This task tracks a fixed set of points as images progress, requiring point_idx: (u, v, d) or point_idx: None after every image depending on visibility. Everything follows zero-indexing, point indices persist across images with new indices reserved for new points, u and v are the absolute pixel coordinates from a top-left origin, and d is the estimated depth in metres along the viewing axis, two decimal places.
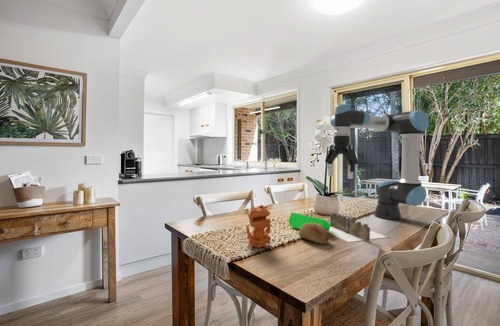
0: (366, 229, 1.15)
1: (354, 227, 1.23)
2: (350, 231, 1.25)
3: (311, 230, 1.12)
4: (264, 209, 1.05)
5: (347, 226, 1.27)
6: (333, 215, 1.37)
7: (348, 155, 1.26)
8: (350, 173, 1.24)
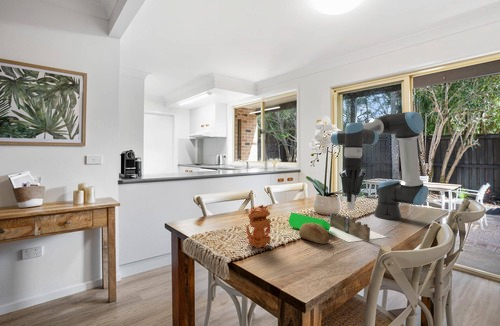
0: (366, 229, 1.15)
1: (354, 227, 1.23)
2: (350, 231, 1.25)
3: (311, 231, 1.12)
4: (264, 209, 1.05)
5: (347, 226, 1.27)
6: (333, 215, 1.37)
7: None
8: None
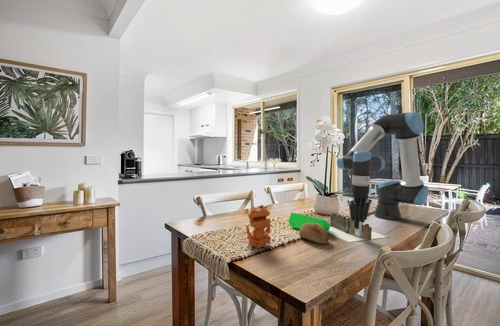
0: (368, 228, 1.16)
1: None
2: (350, 231, 1.25)
3: (311, 230, 1.12)
4: (264, 209, 1.05)
5: (347, 226, 1.27)
6: (333, 215, 1.37)
7: None
8: None
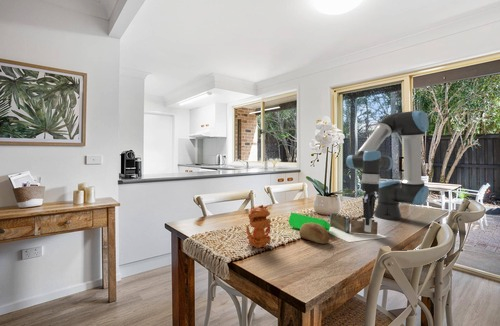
0: (376, 223, 1.24)
1: (359, 225, 1.26)
2: (353, 230, 1.27)
3: (311, 230, 1.12)
4: (264, 209, 1.05)
5: (347, 226, 1.27)
6: (333, 215, 1.37)
7: None
8: None
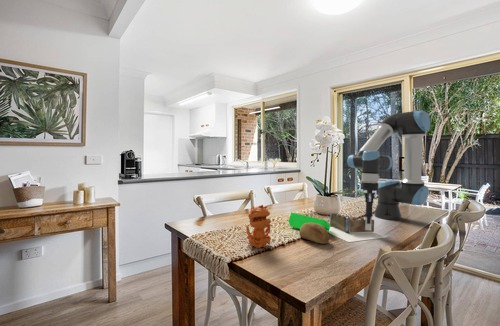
0: (373, 221, 1.28)
1: (358, 224, 1.28)
2: (353, 230, 1.28)
3: (311, 230, 1.12)
4: (264, 209, 1.05)
5: (347, 226, 1.27)
6: (333, 215, 1.37)
7: None
8: None
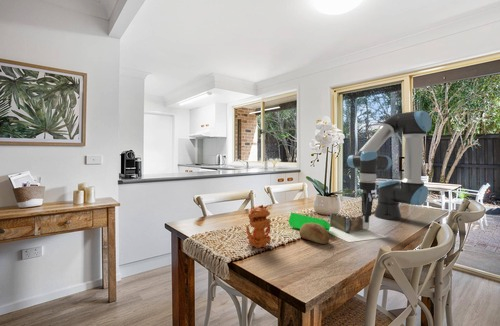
0: None
1: (356, 223, 1.29)
2: (352, 229, 1.28)
3: (311, 230, 1.12)
4: (264, 209, 1.05)
5: (347, 226, 1.27)
6: (333, 215, 1.37)
7: None
8: None
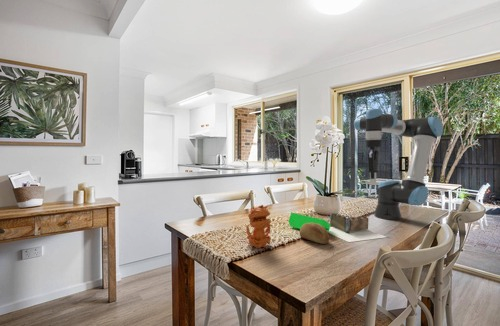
0: (367, 219, 1.32)
1: (356, 223, 1.29)
2: (352, 229, 1.28)
3: (311, 230, 1.12)
4: (264, 209, 1.05)
5: (347, 226, 1.27)
6: (333, 215, 1.37)
7: None
8: None
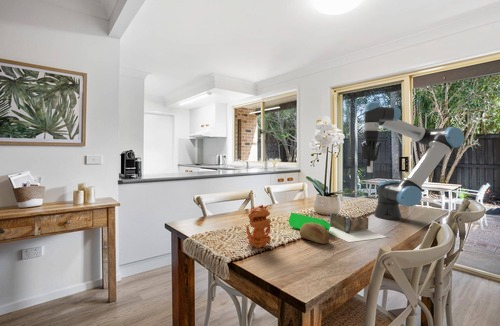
0: (367, 219, 1.32)
1: (356, 223, 1.29)
2: (352, 229, 1.28)
3: (311, 230, 1.12)
4: (264, 209, 1.05)
5: (347, 226, 1.27)
6: (333, 215, 1.37)
7: None
8: None
